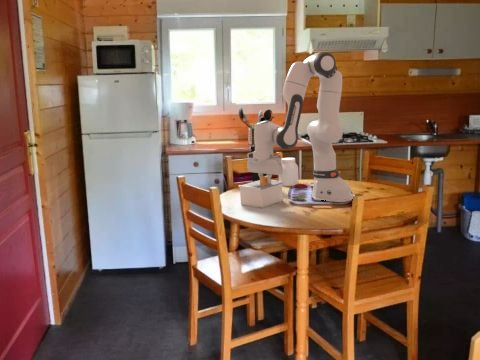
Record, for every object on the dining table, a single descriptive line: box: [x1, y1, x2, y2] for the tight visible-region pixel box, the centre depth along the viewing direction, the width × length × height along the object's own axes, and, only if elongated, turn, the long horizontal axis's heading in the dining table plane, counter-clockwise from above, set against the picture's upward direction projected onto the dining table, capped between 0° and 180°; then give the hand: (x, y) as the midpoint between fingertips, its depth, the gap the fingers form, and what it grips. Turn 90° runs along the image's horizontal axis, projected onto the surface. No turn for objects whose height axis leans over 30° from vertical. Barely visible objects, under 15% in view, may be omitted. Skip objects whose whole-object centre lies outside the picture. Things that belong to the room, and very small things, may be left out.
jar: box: [278, 157, 300, 187], centre depth 278 cm, size 12×10×15 cm
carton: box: [238, 179, 284, 209], centre depth 239 cm, size 14×18×10 cm
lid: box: [242, 176, 282, 190], centre depth 237 cm, size 14×16×5 cm
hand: (265, 182), depth 235 cm, fingers closed on lid, 2 cm apart
